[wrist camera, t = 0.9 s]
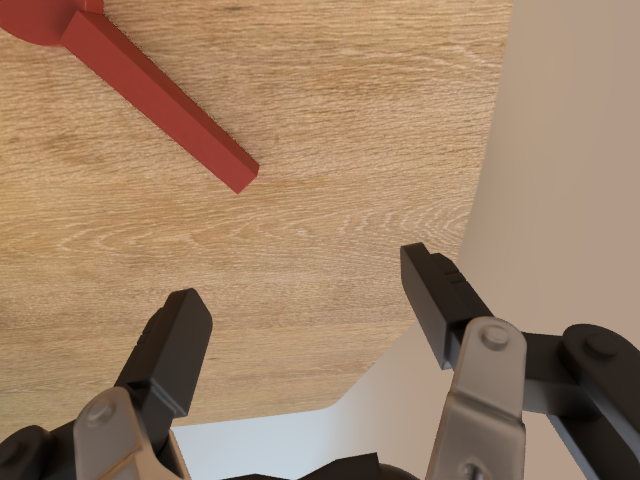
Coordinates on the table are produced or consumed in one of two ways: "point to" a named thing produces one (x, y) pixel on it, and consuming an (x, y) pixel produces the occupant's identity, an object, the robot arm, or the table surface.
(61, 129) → the table surface
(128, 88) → the red flat paddle piece
